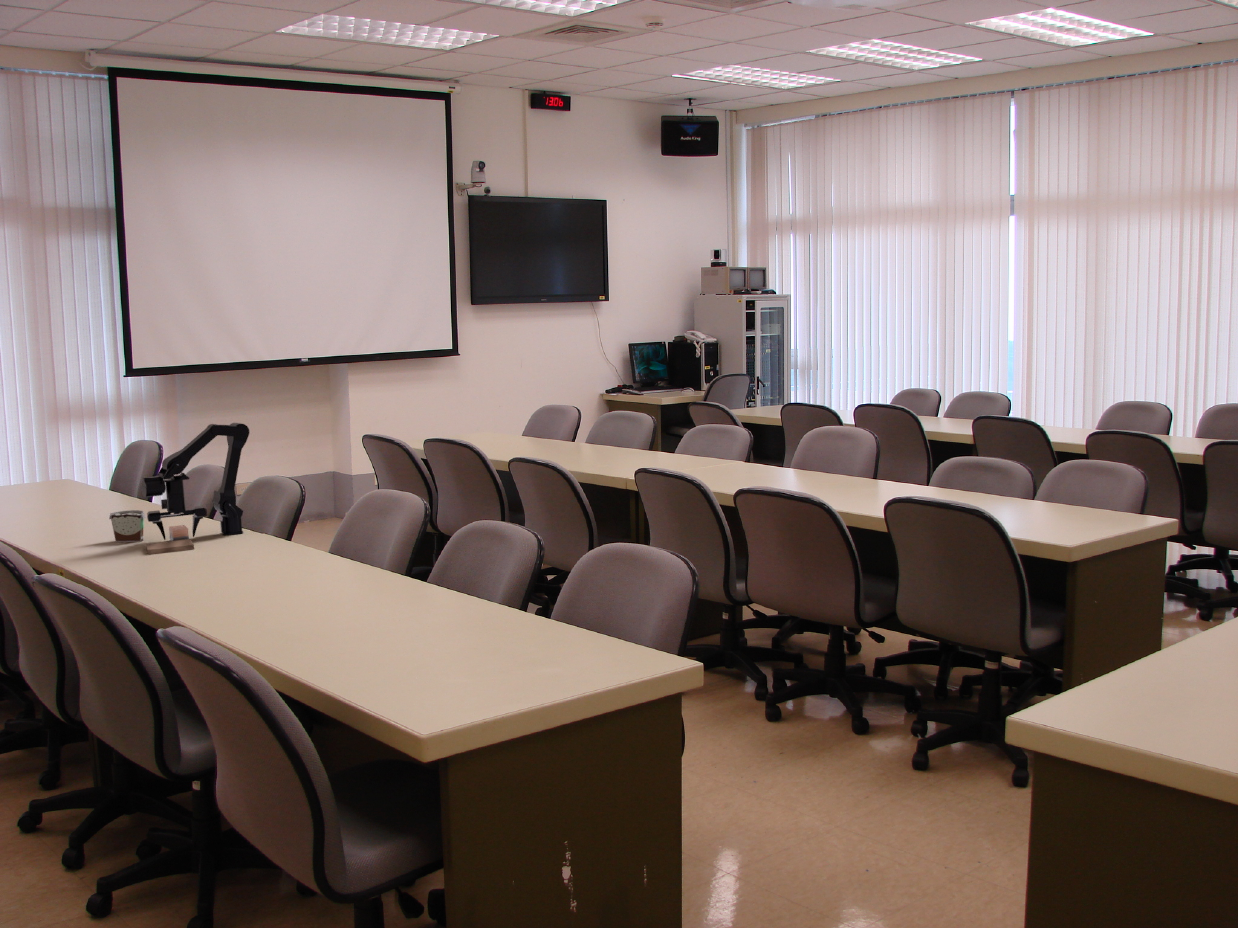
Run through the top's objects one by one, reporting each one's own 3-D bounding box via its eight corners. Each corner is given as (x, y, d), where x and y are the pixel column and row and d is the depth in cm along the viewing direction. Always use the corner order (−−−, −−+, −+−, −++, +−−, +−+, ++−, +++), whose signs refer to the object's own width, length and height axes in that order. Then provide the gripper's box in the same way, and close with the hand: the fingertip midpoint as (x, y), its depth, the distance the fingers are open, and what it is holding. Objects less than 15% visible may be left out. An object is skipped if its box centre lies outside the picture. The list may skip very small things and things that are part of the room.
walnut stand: (190, 543, 372) (190, 538, 372) (194, 549, 362) (193, 544, 362) (146, 548, 365) (145, 543, 365) (148, 554, 356) (148, 549, 356)
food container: (154, 537, 383) (151, 509, 382) (145, 541, 377) (142, 513, 376) (121, 538, 385) (118, 510, 383) (111, 541, 379) (108, 513, 377)
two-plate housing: (185, 538, 380) (184, 524, 380) (189, 542, 374) (187, 528, 373) (170, 540, 378) (168, 526, 377) (173, 544, 371) (172, 530, 370)
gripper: (201, 487, 385) (205, 531, 387) (144, 493, 376) (148, 537, 379) (205, 492, 375) (209, 536, 377) (146, 497, 366) (150, 543, 369)
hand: (179, 538), depth 376 cm, fingers open, 9 cm apart
